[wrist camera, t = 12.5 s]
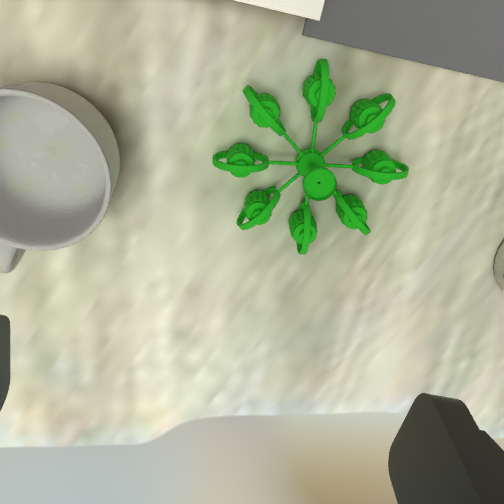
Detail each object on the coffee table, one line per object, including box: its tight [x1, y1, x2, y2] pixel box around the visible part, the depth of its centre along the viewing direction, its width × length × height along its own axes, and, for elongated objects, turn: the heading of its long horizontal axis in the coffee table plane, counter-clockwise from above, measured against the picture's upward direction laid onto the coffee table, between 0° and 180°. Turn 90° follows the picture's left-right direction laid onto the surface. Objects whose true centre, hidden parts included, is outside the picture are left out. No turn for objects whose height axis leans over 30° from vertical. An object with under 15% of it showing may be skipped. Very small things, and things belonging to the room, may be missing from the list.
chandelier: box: [213, 59, 409, 254], centre depth 34 cm, size 15×15×7 cm
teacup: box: [0, 82, 120, 273], centre depth 34 cm, size 14×11×8 cm
